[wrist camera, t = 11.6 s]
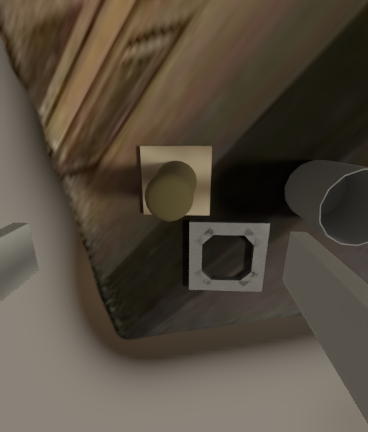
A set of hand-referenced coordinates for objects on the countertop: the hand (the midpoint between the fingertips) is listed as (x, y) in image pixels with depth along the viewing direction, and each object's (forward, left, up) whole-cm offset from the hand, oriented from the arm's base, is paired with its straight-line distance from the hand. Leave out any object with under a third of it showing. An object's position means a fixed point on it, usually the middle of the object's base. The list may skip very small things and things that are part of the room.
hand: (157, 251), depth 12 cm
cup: (+1, +19, -24) cm, 30 cm away
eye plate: (+12, +7, -23) cm, 27 cm away
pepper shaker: (0, -1, -23) cm, 23 cm away
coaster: (0, -1, -23) cm, 23 cm away
